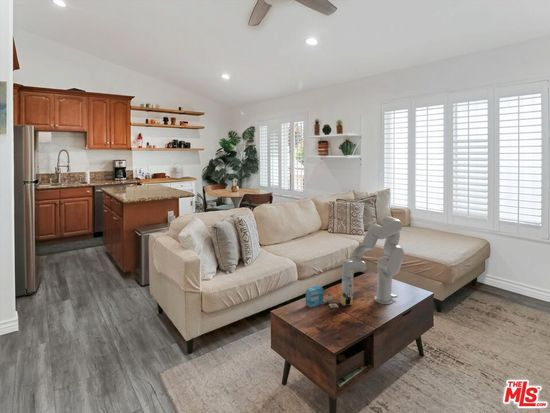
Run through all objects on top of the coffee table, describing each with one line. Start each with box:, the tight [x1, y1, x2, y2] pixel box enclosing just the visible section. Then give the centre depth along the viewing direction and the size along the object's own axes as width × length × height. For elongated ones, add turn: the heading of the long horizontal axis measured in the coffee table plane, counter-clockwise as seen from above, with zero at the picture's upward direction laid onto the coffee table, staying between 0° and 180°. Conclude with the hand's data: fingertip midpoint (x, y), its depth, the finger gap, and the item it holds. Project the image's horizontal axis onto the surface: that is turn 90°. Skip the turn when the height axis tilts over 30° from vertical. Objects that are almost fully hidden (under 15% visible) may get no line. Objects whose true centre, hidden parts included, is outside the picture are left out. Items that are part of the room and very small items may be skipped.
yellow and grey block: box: [340, 293, 354, 306], centre depth 232 cm, size 7×5×6 cm, turn 101°
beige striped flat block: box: [328, 303, 339, 309], centre depth 228 cm, size 5×4×1 cm
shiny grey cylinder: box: [327, 293, 332, 304], centre depth 234 cm, size 2×2×6 cm
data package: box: [305, 285, 324, 309], centre depth 230 cm, size 12×4×12 cm, turn 124°
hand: (346, 302), depth 232 cm, fingers closed on yellow and grey block, 4 cm apart
